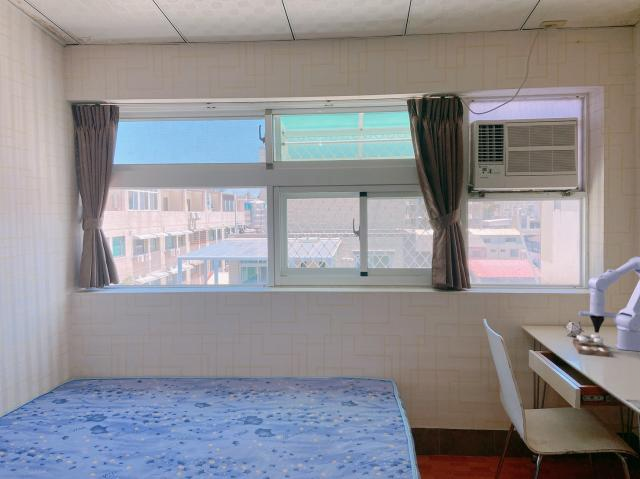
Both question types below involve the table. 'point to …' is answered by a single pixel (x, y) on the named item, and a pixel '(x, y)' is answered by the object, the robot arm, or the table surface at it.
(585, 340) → the button
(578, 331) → the game die
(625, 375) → the table surface
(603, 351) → the button board
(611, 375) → the table surface
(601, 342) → the button
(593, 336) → the button
